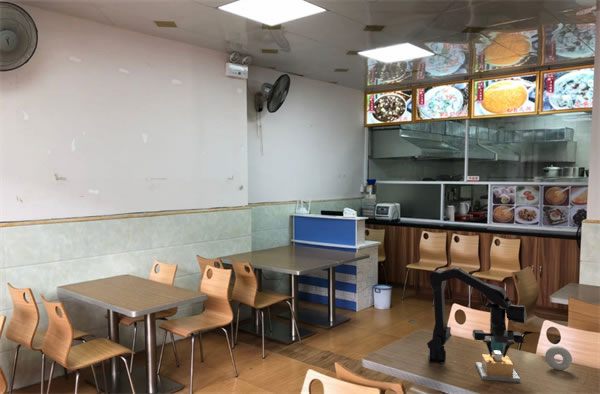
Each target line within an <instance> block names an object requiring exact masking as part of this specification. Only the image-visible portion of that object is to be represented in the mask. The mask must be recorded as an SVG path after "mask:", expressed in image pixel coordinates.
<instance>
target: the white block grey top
mask: <svg viewBox="0 0 600 394" xmlns="http://www.w3.org/2000/svg"><path fill="white" fill-rule="evenodd" d="M492 354H493V360H494V361H496V362H502V356H503V354H501V352H500V351H498V350H494V351H493V352H492Z"/></svg>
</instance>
